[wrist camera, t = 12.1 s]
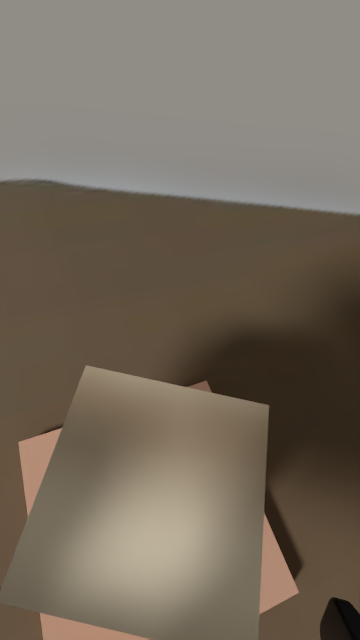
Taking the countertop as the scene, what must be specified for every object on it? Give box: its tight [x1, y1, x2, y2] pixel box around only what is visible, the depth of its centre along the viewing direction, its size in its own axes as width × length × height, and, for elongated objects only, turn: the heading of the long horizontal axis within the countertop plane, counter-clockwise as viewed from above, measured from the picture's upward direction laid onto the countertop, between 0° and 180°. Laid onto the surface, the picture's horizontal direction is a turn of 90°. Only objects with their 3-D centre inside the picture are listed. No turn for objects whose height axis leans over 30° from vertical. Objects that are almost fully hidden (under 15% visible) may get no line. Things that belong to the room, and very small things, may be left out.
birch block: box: [0, 366, 269, 640], centre depth 13 cm, size 6×6×10 cm
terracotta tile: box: [19, 381, 299, 640], centre depth 17 cm, size 11×11×1 cm
